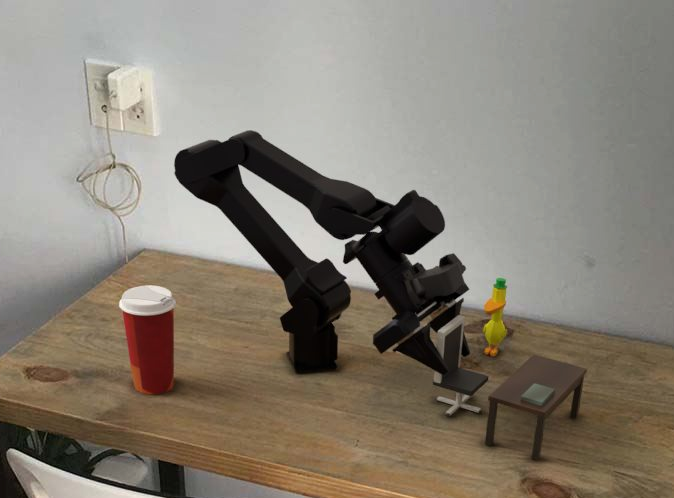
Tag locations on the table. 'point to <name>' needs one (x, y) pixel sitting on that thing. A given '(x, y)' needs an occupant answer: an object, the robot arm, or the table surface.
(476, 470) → the table surface
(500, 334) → the toy figure
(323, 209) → the robot arm
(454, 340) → the white black boxy frame
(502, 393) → the desk
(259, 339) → the table surface
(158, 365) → the paper cup
